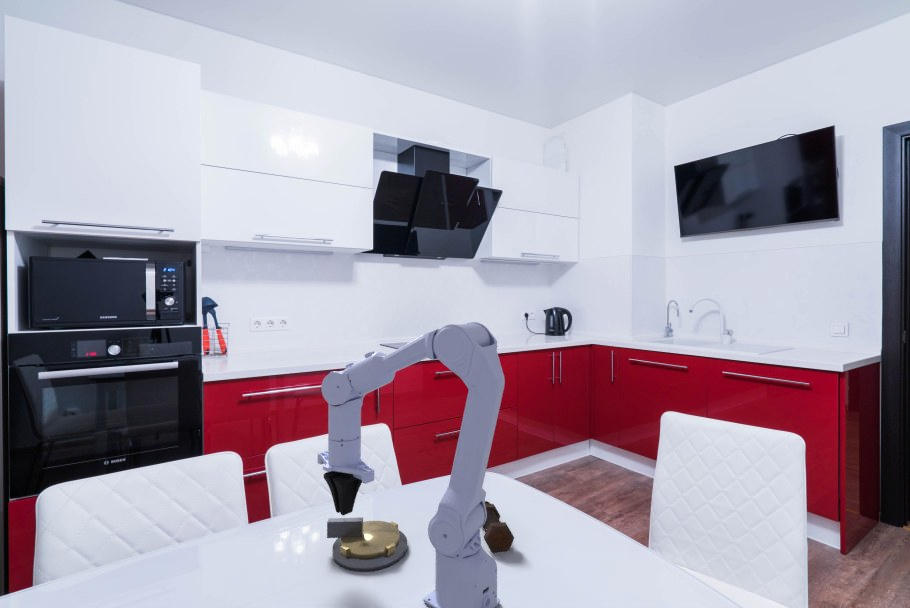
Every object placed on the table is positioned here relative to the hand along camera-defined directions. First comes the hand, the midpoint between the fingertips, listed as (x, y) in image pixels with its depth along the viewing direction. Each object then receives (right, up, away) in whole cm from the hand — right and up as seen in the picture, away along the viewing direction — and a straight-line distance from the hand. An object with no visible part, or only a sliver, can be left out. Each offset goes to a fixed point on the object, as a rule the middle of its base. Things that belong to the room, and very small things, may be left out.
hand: (344, 511), depth 81 cm
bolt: (+28, -10, +12) cm, 32 cm away
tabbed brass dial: (+4, -8, +5) cm, 10 cm away
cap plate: (+4, -9, +5) cm, 11 cm away
